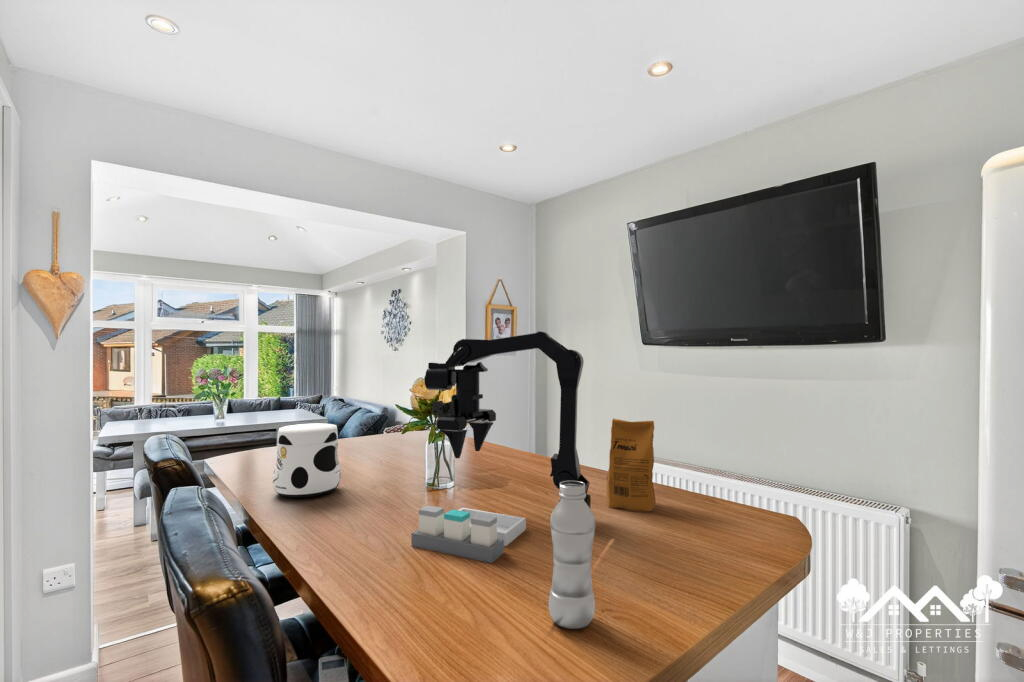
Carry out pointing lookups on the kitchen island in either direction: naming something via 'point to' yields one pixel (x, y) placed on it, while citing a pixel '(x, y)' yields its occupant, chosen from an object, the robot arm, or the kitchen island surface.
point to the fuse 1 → (431, 520)
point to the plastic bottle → (572, 558)
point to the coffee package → (631, 466)
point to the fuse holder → (458, 546)
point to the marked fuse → (457, 525)
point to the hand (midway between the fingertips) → (467, 454)
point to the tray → (503, 524)
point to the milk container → (307, 460)
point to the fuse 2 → (484, 530)
